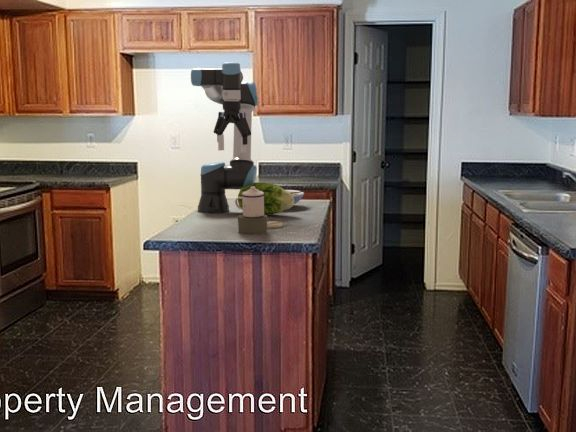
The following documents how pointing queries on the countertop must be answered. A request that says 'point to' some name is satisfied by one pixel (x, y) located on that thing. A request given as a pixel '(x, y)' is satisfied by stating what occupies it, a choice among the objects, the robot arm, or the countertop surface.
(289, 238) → the countertop surface
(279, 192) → the lettuce
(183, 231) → the countertop surface
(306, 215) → the countertop surface
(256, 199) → the teacup with lid
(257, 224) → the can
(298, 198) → the ramen bowl
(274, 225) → the beech coaster
